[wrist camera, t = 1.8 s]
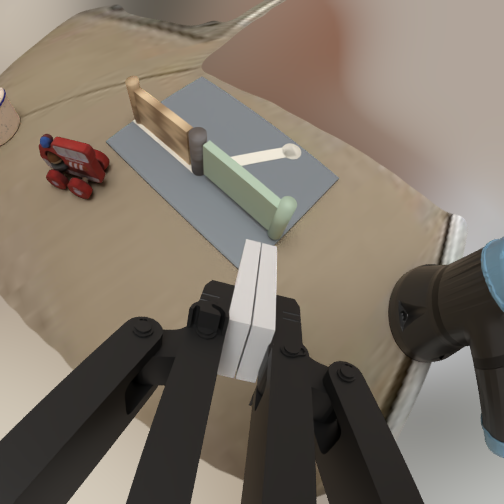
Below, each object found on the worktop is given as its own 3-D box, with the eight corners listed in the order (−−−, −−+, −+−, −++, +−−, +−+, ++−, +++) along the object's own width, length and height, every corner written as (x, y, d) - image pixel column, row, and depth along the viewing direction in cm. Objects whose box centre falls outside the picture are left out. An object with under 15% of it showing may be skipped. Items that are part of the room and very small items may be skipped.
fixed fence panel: (210, 170, 48) (210, 128, 38) (199, 180, 47) (196, 139, 37) (143, 115, 50) (134, 73, 41) (133, 122, 49) (121, 81, 40)
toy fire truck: (65, 150, 46) (43, 112, 37) (120, 168, 46) (103, 127, 36) (44, 183, 44) (16, 149, 34) (98, 205, 44) (74, 168, 34)
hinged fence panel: (201, 177, 46) (200, 140, 37) (211, 169, 46) (211, 131, 38) (275, 242, 44) (289, 215, 35) (284, 233, 44) (300, 204, 36)
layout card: (338, 179, 50) (339, 177, 49) (244, 275, 43) (245, 274, 43) (202, 77, 54) (202, 76, 54) (106, 142, 47) (105, 140, 47)
